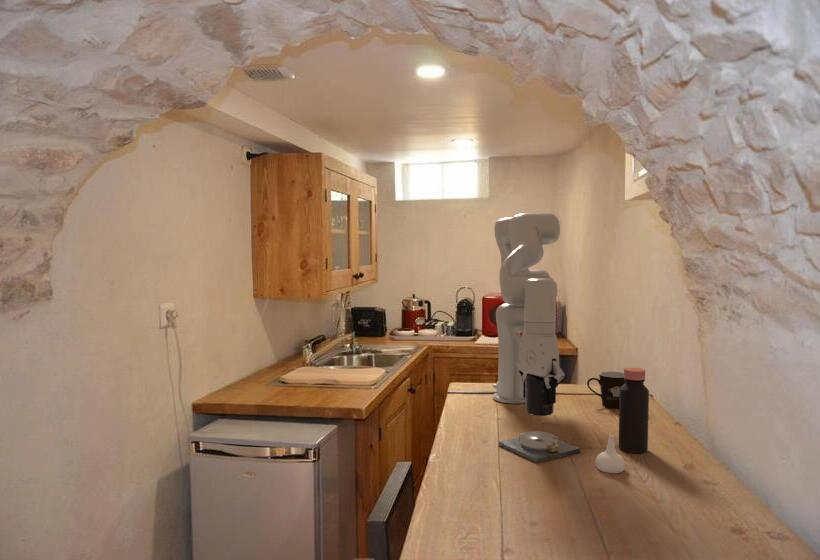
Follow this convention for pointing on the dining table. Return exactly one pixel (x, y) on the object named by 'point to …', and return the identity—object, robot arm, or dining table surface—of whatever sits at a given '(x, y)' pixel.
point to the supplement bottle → (536, 396)
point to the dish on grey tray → (539, 446)
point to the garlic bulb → (610, 459)
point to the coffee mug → (609, 388)
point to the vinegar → (633, 412)
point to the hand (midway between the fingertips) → (539, 399)
